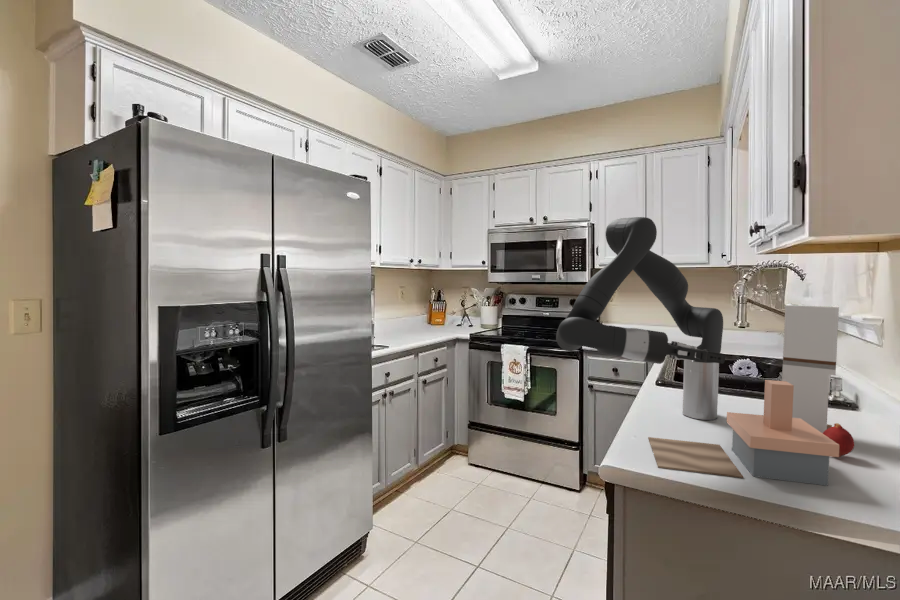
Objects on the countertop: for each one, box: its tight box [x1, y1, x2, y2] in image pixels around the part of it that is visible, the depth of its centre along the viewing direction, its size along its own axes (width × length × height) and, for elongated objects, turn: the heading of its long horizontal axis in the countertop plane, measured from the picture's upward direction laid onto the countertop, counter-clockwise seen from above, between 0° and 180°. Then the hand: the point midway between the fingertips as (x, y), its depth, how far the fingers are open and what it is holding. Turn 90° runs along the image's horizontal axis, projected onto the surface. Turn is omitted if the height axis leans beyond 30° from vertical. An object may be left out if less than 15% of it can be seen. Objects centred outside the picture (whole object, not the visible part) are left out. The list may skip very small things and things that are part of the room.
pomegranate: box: [823, 422, 855, 458], centre depth 103 cm, size 6×6×8 cm
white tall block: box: [781, 303, 840, 433], centre depth 117 cm, size 11×11×35 cm
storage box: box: [731, 429, 830, 486], centre depth 98 cm, size 15×13×8 cm
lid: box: [726, 379, 840, 458], centre depth 97 cm, size 17×15×12 cm
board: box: [647, 436, 744, 479], centre depth 103 cm, size 18×16×1 cm
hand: (716, 356), depth 101 cm, fingers open, 8 cm apart
